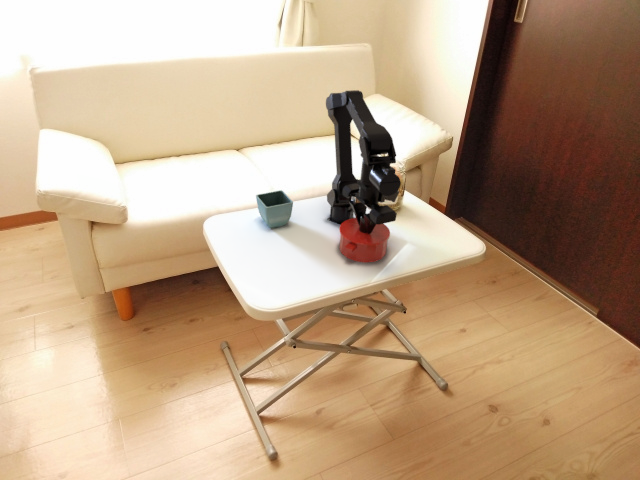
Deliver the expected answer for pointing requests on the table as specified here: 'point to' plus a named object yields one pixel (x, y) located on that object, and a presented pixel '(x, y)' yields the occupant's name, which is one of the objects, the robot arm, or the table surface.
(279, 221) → the flower pot
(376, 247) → the pot
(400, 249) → the table surface
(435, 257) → the table surface
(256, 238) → the table surface
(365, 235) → the lid
